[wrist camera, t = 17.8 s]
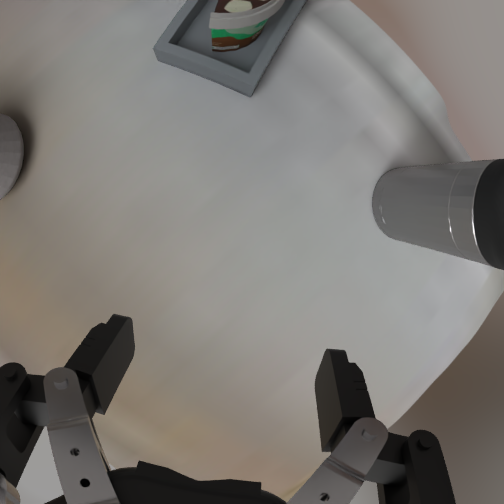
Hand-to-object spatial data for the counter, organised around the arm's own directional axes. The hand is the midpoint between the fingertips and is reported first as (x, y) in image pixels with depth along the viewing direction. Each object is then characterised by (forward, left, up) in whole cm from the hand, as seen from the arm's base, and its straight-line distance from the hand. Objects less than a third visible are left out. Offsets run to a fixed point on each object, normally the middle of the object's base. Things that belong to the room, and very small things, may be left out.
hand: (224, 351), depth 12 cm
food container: (-5, -27, -23) cm, 36 cm away
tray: (-4, -28, -23) cm, 37 cm away
